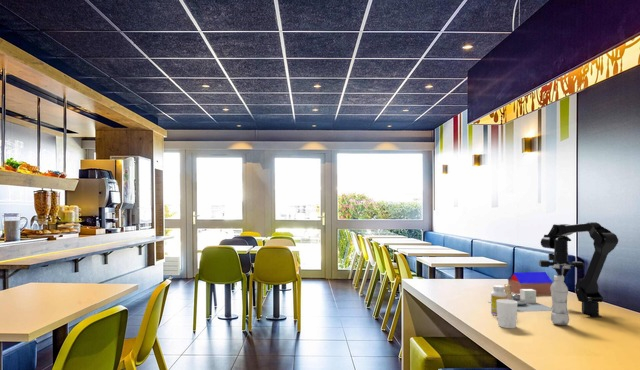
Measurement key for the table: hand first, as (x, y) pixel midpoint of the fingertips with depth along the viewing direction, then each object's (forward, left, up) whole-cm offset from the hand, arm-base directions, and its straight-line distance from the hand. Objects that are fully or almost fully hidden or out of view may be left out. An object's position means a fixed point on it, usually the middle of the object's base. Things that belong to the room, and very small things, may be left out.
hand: (561, 282), depth 208 cm
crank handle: (+2, +23, -11) cm, 26 cm away
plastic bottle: (-29, +22, -12) cm, 38 cm away
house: (+35, -6, -12) cm, 38 cm away
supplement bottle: (-12, +39, -12) cm, 43 cm away
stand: (0, +21, -12) cm, 24 cm away
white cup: (-29, +45, -12) cm, 55 cm away
